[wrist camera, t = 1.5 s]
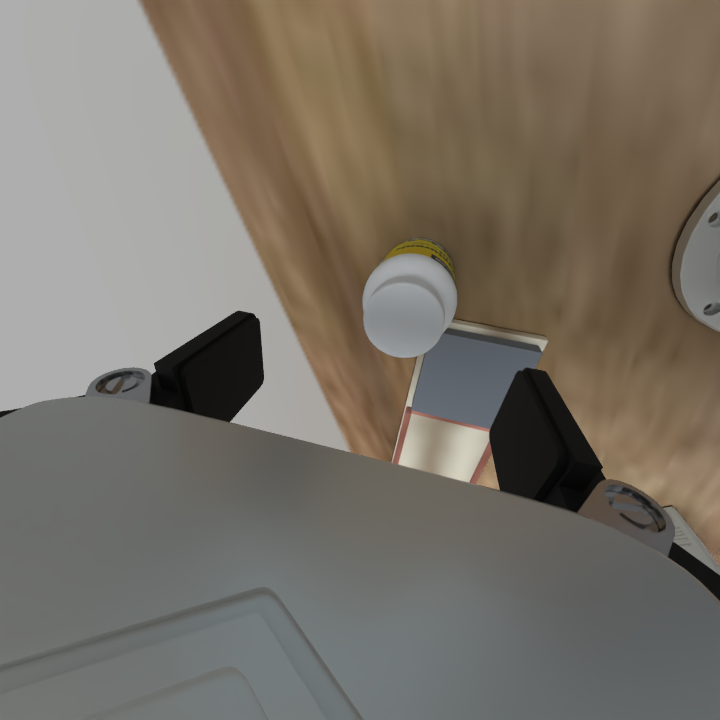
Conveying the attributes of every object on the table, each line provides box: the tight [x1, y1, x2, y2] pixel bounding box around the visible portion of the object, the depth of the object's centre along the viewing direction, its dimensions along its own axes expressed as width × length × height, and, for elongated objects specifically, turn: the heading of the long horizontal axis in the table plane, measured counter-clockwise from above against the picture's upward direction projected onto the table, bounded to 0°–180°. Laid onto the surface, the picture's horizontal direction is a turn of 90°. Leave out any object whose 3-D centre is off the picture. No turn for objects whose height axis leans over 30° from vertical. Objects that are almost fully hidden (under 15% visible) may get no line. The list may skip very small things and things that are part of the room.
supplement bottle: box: [363, 238, 457, 358], centre depth 19 cm, size 5×5×10 cm
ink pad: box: [411, 328, 542, 429], centre depth 25 cm, size 8×8×1 cm
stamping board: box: [391, 319, 548, 484], centre depth 28 cm, size 9×18×1 cm, turn 173°
